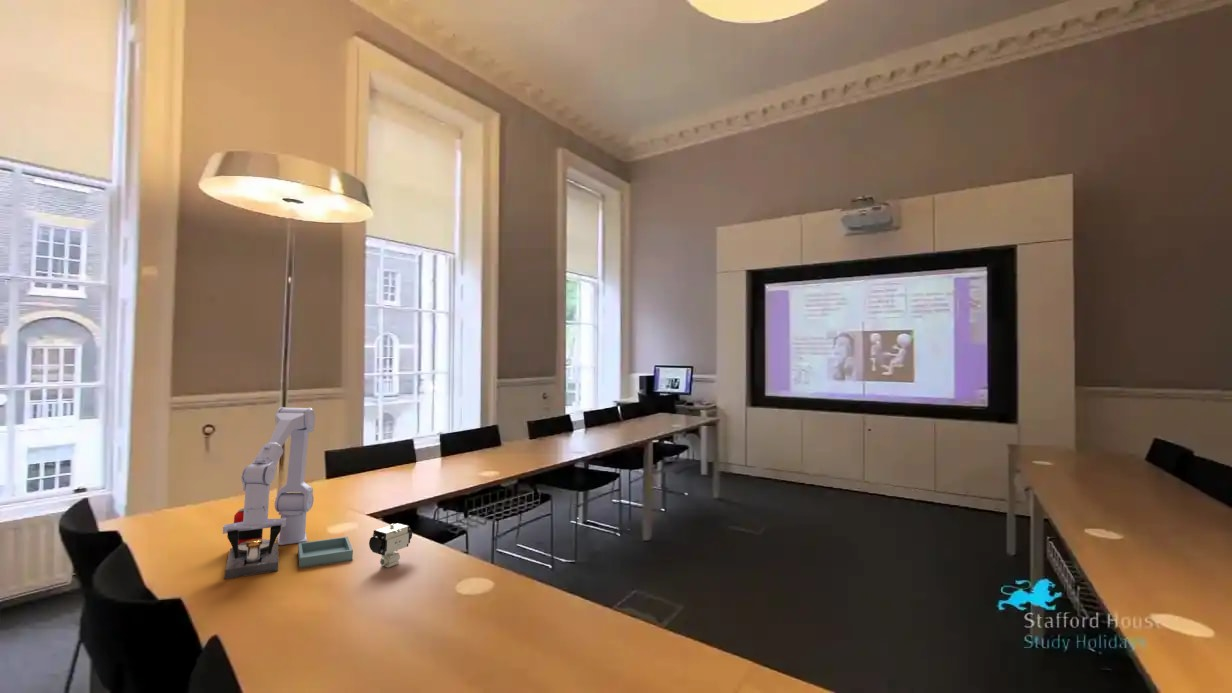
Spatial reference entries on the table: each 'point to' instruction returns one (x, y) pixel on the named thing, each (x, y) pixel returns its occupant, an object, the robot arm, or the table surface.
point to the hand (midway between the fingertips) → (253, 555)
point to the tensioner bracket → (242, 569)
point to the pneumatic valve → (390, 542)
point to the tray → (324, 552)
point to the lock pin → (253, 550)
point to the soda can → (246, 534)
